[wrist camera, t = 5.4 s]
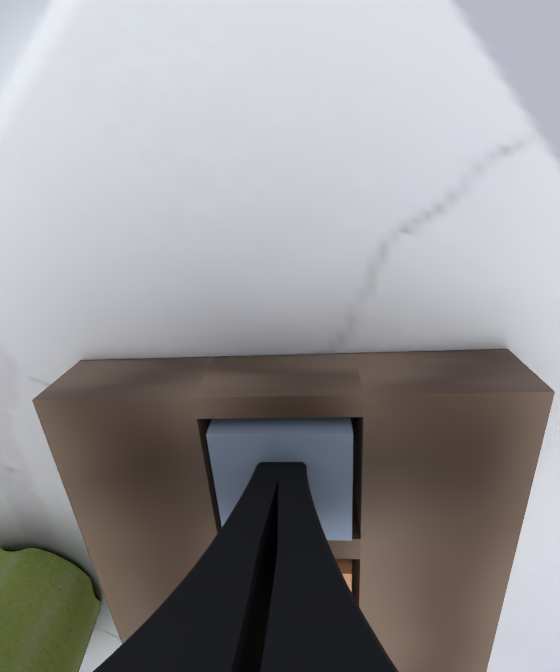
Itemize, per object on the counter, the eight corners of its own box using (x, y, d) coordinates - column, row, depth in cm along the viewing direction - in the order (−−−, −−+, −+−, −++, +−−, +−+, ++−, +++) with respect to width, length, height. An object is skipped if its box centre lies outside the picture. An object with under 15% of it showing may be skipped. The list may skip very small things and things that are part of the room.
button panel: (168, 655, 20) (149, 718, 18) (80, 360, 13) (32, 400, 11) (450, 669, 19) (469, 739, 16) (507, 349, 12) (554, 391, 10)
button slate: (237, 482, 14) (223, 538, 12) (224, 389, 13) (205, 434, 11) (345, 482, 14) (351, 540, 12) (346, 386, 12) (352, 433, 10)
